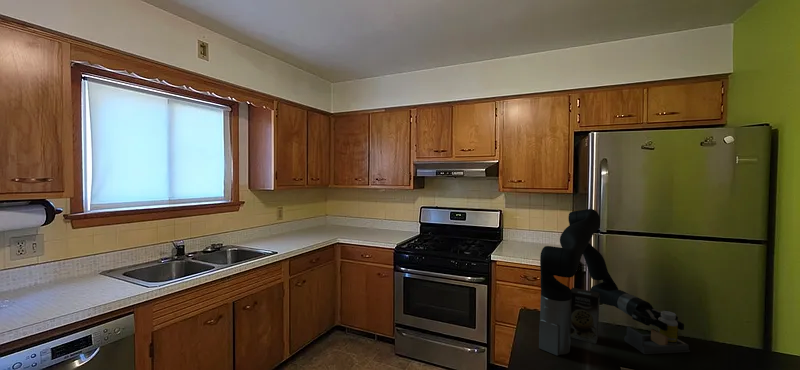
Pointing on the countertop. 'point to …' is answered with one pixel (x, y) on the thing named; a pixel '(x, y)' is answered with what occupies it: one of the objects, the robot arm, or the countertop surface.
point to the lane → (652, 344)
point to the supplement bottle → (669, 326)
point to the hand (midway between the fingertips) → (674, 327)
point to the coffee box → (585, 315)
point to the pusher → (658, 338)
